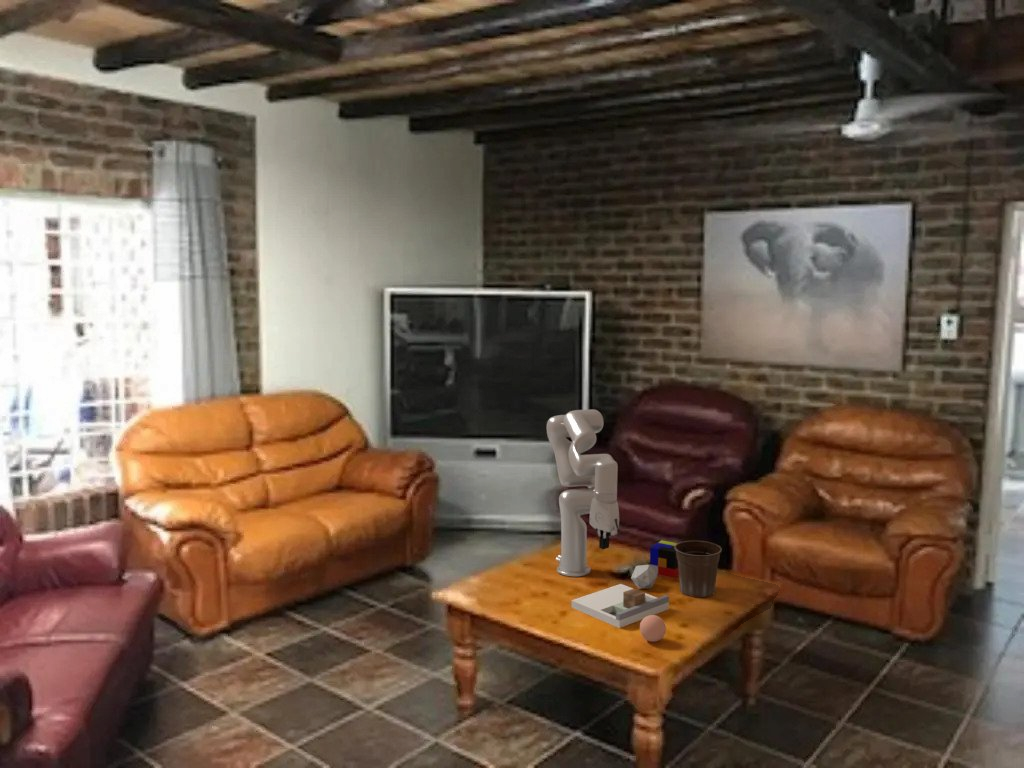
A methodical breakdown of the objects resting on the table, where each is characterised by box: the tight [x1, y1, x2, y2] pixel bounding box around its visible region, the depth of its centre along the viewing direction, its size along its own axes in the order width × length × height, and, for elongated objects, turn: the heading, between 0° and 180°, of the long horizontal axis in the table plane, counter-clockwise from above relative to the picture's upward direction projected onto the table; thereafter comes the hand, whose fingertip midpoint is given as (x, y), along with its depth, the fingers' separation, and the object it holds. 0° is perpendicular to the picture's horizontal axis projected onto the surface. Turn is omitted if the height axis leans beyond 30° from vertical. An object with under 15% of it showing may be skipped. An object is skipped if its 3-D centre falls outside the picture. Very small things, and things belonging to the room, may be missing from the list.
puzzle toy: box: [649, 540, 679, 579], centre depth 321 cm, size 10×10×10 cm
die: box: [630, 564, 658, 590], centre depth 306 cm, size 8×9×10 cm
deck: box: [570, 583, 670, 629], centre depth 287 cm, size 22×24×4 cm
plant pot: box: [674, 540, 723, 598], centre depth 301 cm, size 16×16×16 cm
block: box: [623, 588, 646, 609], centre depth 281 cm, size 5×5×5 cm
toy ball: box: [639, 614, 667, 643], centre depth 261 cm, size 8×8×8 cm
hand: (604, 547), depth 291 cm, fingers closed
